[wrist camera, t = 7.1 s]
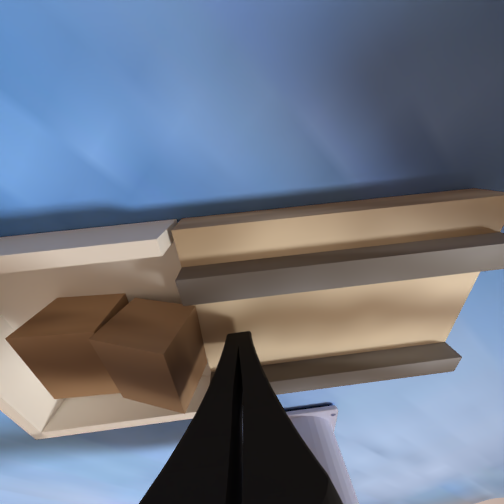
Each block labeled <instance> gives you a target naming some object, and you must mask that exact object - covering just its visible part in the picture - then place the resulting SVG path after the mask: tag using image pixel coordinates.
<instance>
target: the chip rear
mask: <svg viewBox="0 0 504 504" xmlns="http://www.w3.org/2000/svg"><path fill="white" fill-rule="evenodd" d="M128 303H129V302H128V299H127V297H126V294H125V293H121V294H106V295H91V296H75V297H60V298H56V299H55V300H54V301H52V302H51V303H50V304H49V305H47V306H46V307H45V308H43V309H42V310H41V311H40V312H38V313H37V314H36V315H34V316H33V317H32V318H31V319H29V320H28V321H27V322H26V323H24V324H23V325H22V326H20V327H19V328H18V329H17V330H15V331H14V332H13V333H11V334H10V335H9V336H8V337H6V338H5V339H6V341H7V342H8V343H9V344H10V345H11V347H12V348H13V349H14V350H15V352H16V353H17V354H18V355H19V356H20V358H21V359H22V360H23V361H24V363H25V364H26V365H27V366H28V367H29V369H30V370H31V371H32V372H33V374H34V375H35V376H36V377H37V379H38V380H39V381H40V382H41V383H42V385H43V386H44V387H45V388H46V390H47V391H48V392H49V393H50V394H51V396H52V397H53V398H54V399H63V398H73V397H84V396H95V395H106V394H116V393H120V391H119V390H118V388H117V386H116V385H115V383H114V381H113V380H112V378H111V376H110V375H109V373H108V371H107V370H106V368H105V366H104V365H103V363H102V361H101V360H100V358H99V356H98V355H97V353H96V351H95V350H94V348H93V346H92V345H91V343H90V341H89V340H88V339H89V338H90V337H91V336H92V335H93V334H95V333H96V332H97V331H98V330H99V329H100V328H101V327H102V326H104V325H105V324H106V323H107V322H108V321H109V320H110V319H111V318H113V317H114V316H115V315H116V314H117V313H118V312H119V311H120V310H122V309H123V308H124V307H125V306H126V305H127V304H128Z"/></svg>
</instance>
